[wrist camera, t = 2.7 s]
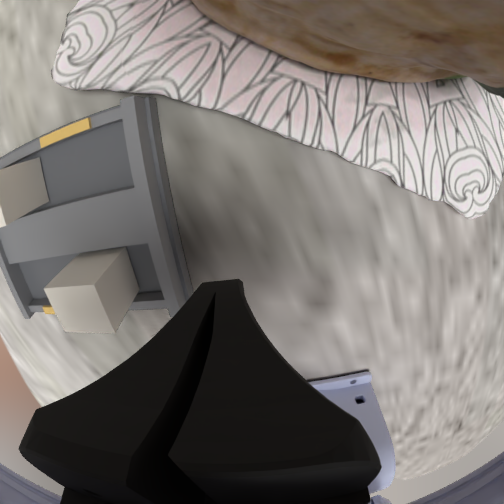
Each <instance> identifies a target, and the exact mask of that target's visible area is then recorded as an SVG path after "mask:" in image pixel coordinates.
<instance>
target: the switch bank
mask: <svg viewBox="0 0 504 504" xmlns="http://www.w3.org/2000/svg"><path fill="white" fill-rule="evenodd" d="M38 157H40V162H41V167H42V172H43V177H44V182H45V186H46V190H47V194H48V198H49V202H47V203H45V204H43V205H41V206H39V207H38V208H36V209H34V210H32V211H30V212H28V213H27V214H25V215H23V216H22V217H20V218H18V219H16V220H15V221H13V222H11V223H10V224H8V225H6V226H4V227H1V228H0V267H1V269H2V271H3V274H4V276H5V279H6V281H7V283H8V285H9V288H10V290H11V292H12V294H13V296H14V298H15V300H16V303H17V305H18V307H19V309H20V310H21V312H22V314H23V316H24V318H25V319H30V318H31V317H32V315H33V314H34V313H35V312H45V314H55V312H54V310H53V308H52V306H51V304H50V301H49V299H48V297H47V295H46V293H45V291H44V288H45V286H46V285H47V284H48V283H49V282H50V281H51V280H52V279H53V278H54V277H55V276H56V275H57V274H58V273H59V272H60V271H61V270H62V269H63V268H64V267H65V266H67V265H68V264H69V263H70V262H71V261H72V260H73V259H74V258H75V257H76V256H77V255H78V254H80V253H86V252H93V251H100V250H107V249H114V248H121V247H126V249H127V252H128V255H129V258H130V262H131V265H132V268H133V271H134V274H135V277H136V280H137V283H138V286H139V291H138V293H137V295H136V296H135V298H134V300H133V302H132V304H131V305H130V307H129V309H128V310H146V309H164V308H168V311H169V314H170V317H173V316H174V315H175V314H176V313H177V312H178V311H179V310H180V308H181V307H182V306H183V305H184V304H185V303H186V301H187V300H188V299H189V298H190V297H191V295H192V293H193V289H192V285H191V281H190V277H189V273H188V269H187V265H186V260H185V256H184V252H183V248H182V243H181V239H180V234H179V230H178V225H177V220H176V216H175V211H174V206H173V201H172V196H171V191H170V186H169V180H168V175H167V169H166V164H165V158H164V152H163V146H162V139H161V133H160V126H159V119H158V112H157V105H156V98H152V97H145V98H143V97H138V96H130V97H127V98H124V99H121V100H120V105H118V106H115V107H112V108H109V109H106V110H103V111H100V112H98V113H95V114H92V115H89V116H87V117H84V118H82V119H79V120H76V121H74V122H72V123H69V124H67V125H64V126H62V127H60V128H57V129H55V130H53V131H51V132H49V133H47V134H44V135H42V136H40V137H38V138H36V139H34V140H32V141H30V142H28V143H26V144H24V145H22V146H21V147H19V148H17V149H15V150H13V151H11V152H10V153H8V154H6V155H4V156H3V157H1V158H0V170H1V169H3V168H6V167H9V166H12V165H15V164H18V163H22V162H25V161H28V160H31V159H35V158H38Z"/></svg>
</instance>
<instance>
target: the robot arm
mask: <svg viewBox="0 0 504 504" xmlns="http://www.w3.org/2000/svg"><path fill="white" fill-rule="evenodd" d="M371 379H372V375H371V373H370V372H362V373H357V374H352V375H347V376H342V377H337V378H331V379H325V380H319V381H313V382H307V381H306V380H305V379H304V378H303V377H302V376H301V375H300V374H299V373H298V372H297V371H296V370H295V369H294V368H293V367H292V366H291V365H290V364H289V363H288V362H287V361H286V360H285V359H284V358H283V357H282V355H281V354H280V353H279V352H278V351H277V349H276V348H275V347H274V346H273V344H272V343H271V342H270V340H269V339H268V338H267V336H266V335H265V333H264V332H263V330H262V329H261V327H260V326H259V324H258V322H257V321H256V319H255V317H254V315H253V313H252V311H251V309H250V307H249V305H248V303H247V301H246V298H245V295H244V288H243V282H242V281H241V280H239V279H234V280H224V281H214V282H204V283H202V284H201V285H200V286H199V287H198V288H197V290H196V291H195V292H194V293H193V294H192V295H191V297H190V298H189V299H188V300H187V301H186V303H185V304H184V305H183V306H182V307H181V308H180V310H179V311H178V312H177V313H176V314H175V315H174V316H173V318H172V319H171V320H170V321H169V322H168V323H167V324H166V325H165V326H164V327H163V328H162V329H161V330H160V331H159V332H158V333H157V334H156V335H155V336H154V337H153V338H152V339H151V340H150V341H149V342H148V343H146V344H145V345H144V346H143V347H142V348H141V349H140V350H138V351H137V352H136V353H135V354H134V355H132V356H131V357H130V358H129V359H127V360H126V361H124V362H123V363H122V364H120V365H119V366H117V367H116V368H115V369H113V370H112V371H110V372H109V373H107V374H106V375H105V376H103V377H101V378H100V379H98V380H97V381H95V382H93V383H92V384H90V385H88V386H86V387H84V388H83V389H81V390H79V391H77V392H75V393H73V394H71V395H69V396H67V397H65V398H63V399H60V400H58V401H56V402H53V403H51V404H49V405H46V406H44V407H41V408H39V409H37V410H36V411H35V413H34V415H33V417H32V419H31V421H30V423H29V426H28V428H27V430H26V432H25V434H24V437H23V439H22V441H21V444H20V446H19V450H20V453H21V454H22V456H23V457H24V458H25V459H26V460H27V461H28V462H30V463H31V464H33V466H35V467H36V468H37V469H39V470H40V471H41V472H43V473H45V474H46V475H47V476H49V477H50V478H52V479H53V480H55V481H56V482H58V483H59V484H61V485H63V486H64V487H65V488H64V491H63V495H62V497H61V496H59V495H57V494H55V493H52V492H50V491H48V490H46V489H44V488H42V487H40V486H38V485H36V484H35V483H33V482H31V481H29V480H27V479H25V478H23V477H22V476H20V475H18V474H17V473H15V472H13V471H12V470H10V469H9V468H7V467H5V466H4V465H2V464H1V463H0V504H391V502H390V501H389V500H388V499H386V498H383V497H381V496H380V495H377V496H374V497H371V500H370V495H369V494H371V493H374V492H377V491H380V490H383V489H385V488H387V487H388V486H390V485H391V483H392V481H393V479H394V475H395V453H394V448H393V443H392V440H391V437H390V434H389V431H388V428H387V426H386V423H385V420H384V417H383V414H382V412H381V409H380V406H379V404H378V401H377V398H376V396H375V393H374V390H373V388H372V385H371V383H370V382H371ZM408 504H504V452H502V453H501V454H500V455H498V456H497V457H495V458H494V459H492V460H491V461H489V462H488V463H487V464H485V465H483V466H482V467H480V468H478V469H477V470H475V471H473V472H472V473H470V474H468V475H467V476H465V477H463V478H461V479H459V480H458V481H456V482H454V483H452V484H450V485H448V486H446V487H444V488H442V489H440V490H438V491H436V492H434V493H432V494H430V495H427V496H425V497H423V498H420V499H418V500H416V501H413V502H411V503H408Z"/></svg>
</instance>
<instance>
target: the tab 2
mask: <svg viewBox="0 0 504 504" xmlns="http://www.w3.org/2000/svg"><path fill="white" fill-rule="evenodd" d="M44 291H45V293H46V295H47V297H48V299H49V301H50V304H51V306H52V308H53V310H54V312H55V314H56V316H57V318H58V320H59V322H60V323H61V325H62V327H63V329H64V331H65V332H74V333H116V331H117V329H118V327H119V326H120V324H121V322H122V320H123V318H124V316H125V314H126V313H127V311H128V309H129V307H130V305H131V304H132V302H133V300H134V298H135V296H136V295H137V293H138V291H139V286H138V283H137V280H136V277H135V274H134V271H133V268H132V265H131V262H130V258H129V255H128V252H127V249H126V247H121V248H114V249H107V250H100V251H93V252H86V253H80V254H78V255H77V256H76V257H75V258H74V259H73V260H72V261H71V262H70V263H69V264H68V265H67V266H65V267H64V268H63V269H62V270H61V271H60V272H59V273H58V274H57V275H56V276H55V277H54V278H53V279H52V280H51V281H50V282H49V283H48V284H47V285H46V286H45V288H44Z"/></svg>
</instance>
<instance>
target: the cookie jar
mask: <svg viewBox="0 0 504 504" xmlns="http://www.w3.org/2000/svg"><path fill="white" fill-rule="evenodd" d="M56 55H57V56H56V59H55V62H54V65H53V67H52V70H51V74H52V79H53V80H54V81H55V82H56V83H57V84H59V85H60V86H64V87H67V88H69V89H73V90H93V89H106V90H111V91H114V92H128V93H141V94H160V95H165V96H167V97H169V98H173V99H177V100H181V101H184V102H186V103H189V104H191V105H194V106H198V107H203V108H208V109H213V110H218V111H222V112H225V113H228V114H231V115H234V116H237V117H240V118H243V119H245V120H247V121H249V122H251V123H253V124H256V125H258V126H260V127H262V128H265V129H267V130H269V131H274V132H278V133H279V134H280V135H282V136H283V137H285V138H288V139H292V140H295V141H297V142H300V143H302V144H305V145H308V146H311V147H314V148H318V149H321V150H328V151H333V152H335V153H337V154H339V155H340V156H341V157H343V158H344V159H346V160H347V161H349V162H350V163H354V164H357V165H361V166H364V167H367V168H371V169H374V170H376V171H379V172H382V173H384V174H386V175H388V176H390V177H391V178H392V179H393V180H394V181H395V183H396V184H397V185H398V186H399V187H402V188H406V189H409V190H411V191H413V192H415V193H417V194H418V195H421V196H426V197H427V199H428V200H433V201H444V202H446V203H448V204H449V205H451V206H452V207H453V208H454V209H455V210H457V211H458V212H459V213H461V214H462V215H463V216H464V217H465V218H467V219H475V218H476V217H478V216H479V217H480V216H482V215H484V214H485V213H486V212H487V211H488V209H489V204H490V202H491V201H492V199H493V197H494V196H495V195H496V194H497V193H498V190H499V187H500V184H501V181H502V177H503V174H504V0H79V2H78V3H77V5H76V6H75V7H74V9H73V10H72V11H71V12H69V13H68V14H67V19H66V27H65V30H64V32H63V34H62V38H61V45H60V47H59V49H58V50H57V52H56Z"/></svg>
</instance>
